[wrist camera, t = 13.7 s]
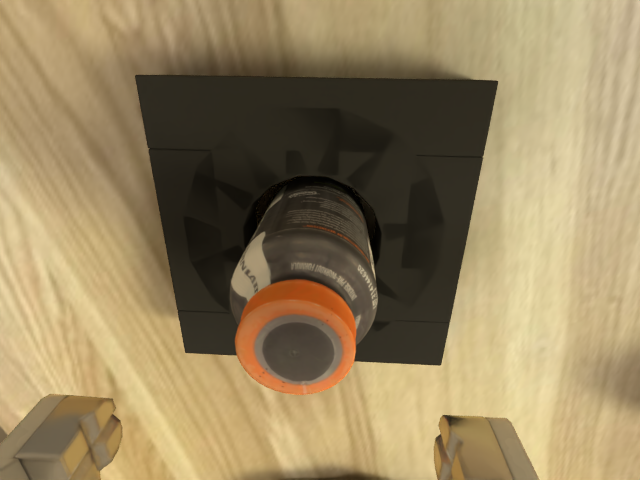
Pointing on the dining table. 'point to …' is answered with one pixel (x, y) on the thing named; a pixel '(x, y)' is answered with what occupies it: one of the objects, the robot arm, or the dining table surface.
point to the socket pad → (319, 160)
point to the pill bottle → (305, 288)
